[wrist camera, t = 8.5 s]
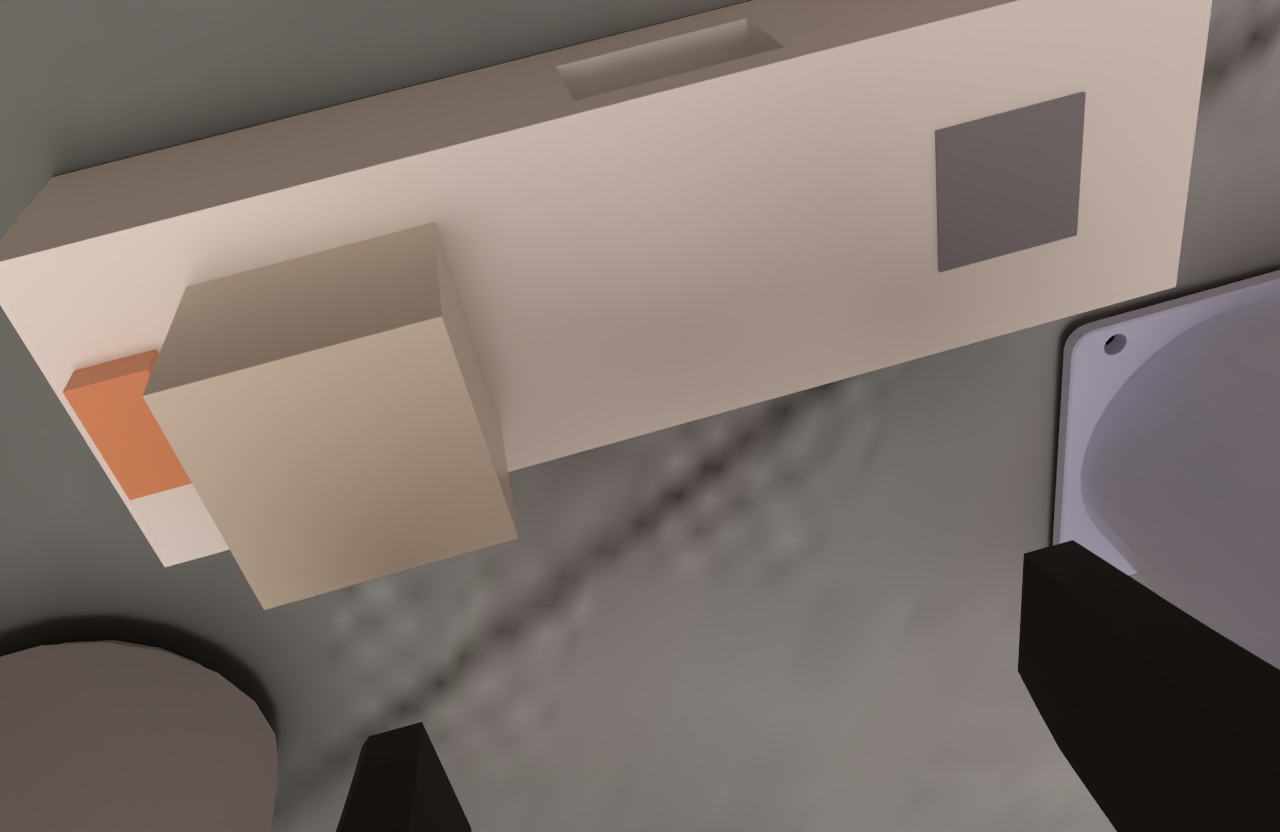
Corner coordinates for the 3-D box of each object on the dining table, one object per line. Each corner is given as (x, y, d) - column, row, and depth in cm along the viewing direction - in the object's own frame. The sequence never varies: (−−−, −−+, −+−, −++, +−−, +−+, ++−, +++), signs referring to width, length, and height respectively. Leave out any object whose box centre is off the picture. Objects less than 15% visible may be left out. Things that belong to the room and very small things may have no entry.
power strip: (1081, -83, 18) (1247, -46, 14) (1064, 212, 21) (1197, 301, 17) (52, 177, 17) (-39, 287, 13) (199, 446, 20) (158, 591, 16)
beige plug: (433, 221, 15) (442, 316, 12) (500, 422, 17) (518, 538, 14) (186, 286, 14) (142, 396, 12) (283, 481, 16) (264, 609, 14)
